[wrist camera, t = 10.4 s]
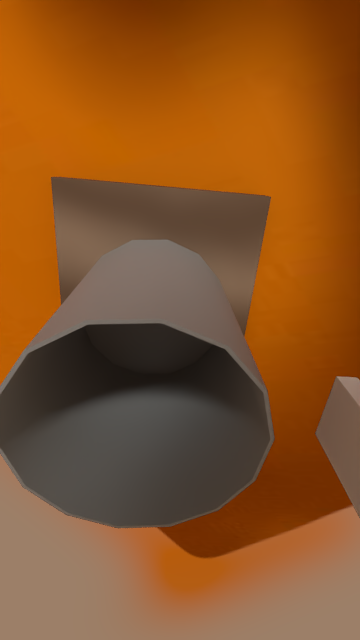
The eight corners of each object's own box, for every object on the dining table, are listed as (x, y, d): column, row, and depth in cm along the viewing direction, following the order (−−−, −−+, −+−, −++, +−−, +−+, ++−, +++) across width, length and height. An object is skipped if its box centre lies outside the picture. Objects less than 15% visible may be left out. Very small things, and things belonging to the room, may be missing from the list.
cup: (126, 387, 21) (92, 552, 12) (52, 281, 18) (-74, 396, 9) (245, 336, 20) (308, 480, 10) (187, 211, 16) (207, 261, 7)
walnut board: (59, 176, 17) (51, 177, 16) (264, 195, 17) (270, 197, 16) (74, 392, 22) (69, 403, 21) (226, 400, 23) (229, 411, 22)
